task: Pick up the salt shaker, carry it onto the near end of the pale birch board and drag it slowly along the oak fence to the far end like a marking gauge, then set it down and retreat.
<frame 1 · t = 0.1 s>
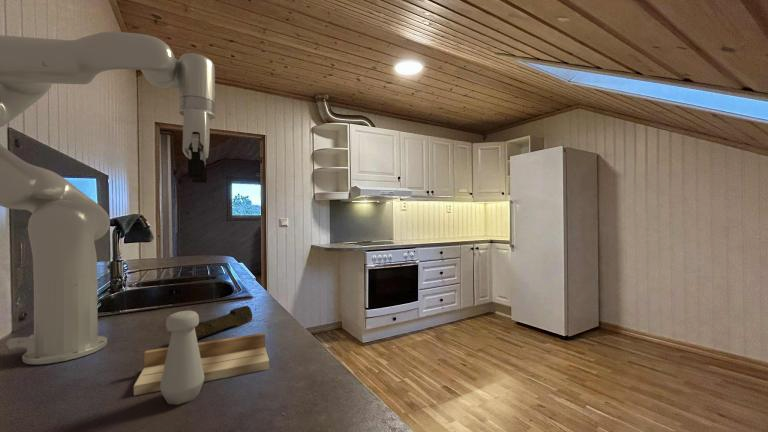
hand: (198, 180, 78), 37 cm above the countertop, tool pointing down, fingers open, 9 cm apart
salt shaker: (183, 398, 50), on the countertop
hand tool: (218, 332, 80), on the countertop
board: (208, 369, 60), on the countertop
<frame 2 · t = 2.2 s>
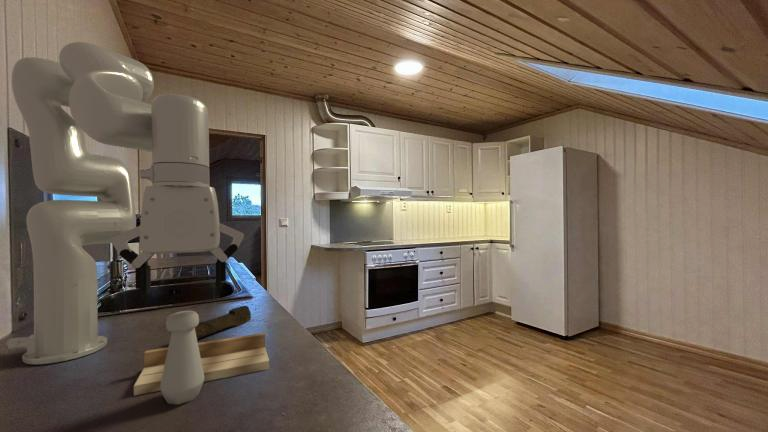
hand: (183, 289, 50), 17 cm above the countertop, tool pointing down, fingers open, 9 cm apart
nothing on the countertop moved.
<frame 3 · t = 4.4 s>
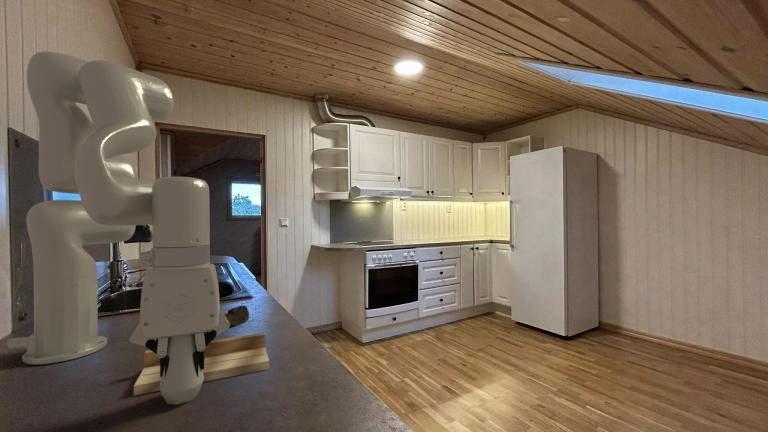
hand: (183, 376, 50), 3 cm above the countertop, tool pointing down, fingers closed on salt shaker, 3 cm apart
salt shaker: (182, 398, 50), on the countertop, touching gripper
everything else where it was.
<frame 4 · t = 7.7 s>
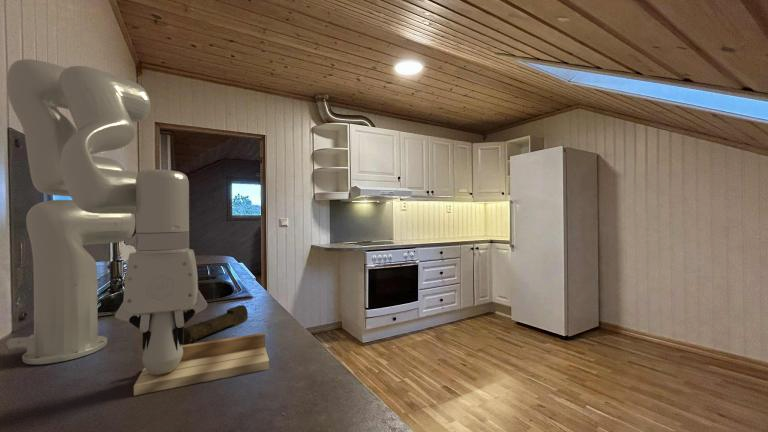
hand: (164, 350, 56), 5 cm above the countertop, tool pointing down, fingers closed on salt shaker, 3 cm apart
salt shaker: (163, 370, 55), point 2 cm above the countertop, touching gripper
everything else where it was.
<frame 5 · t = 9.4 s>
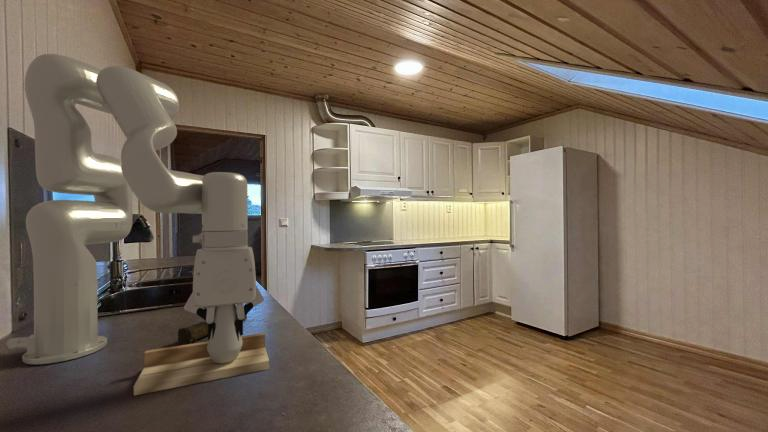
hand: (226, 340, 60), 5 cm above the countertop, tool pointing down, fingers closed on salt shaker, 3 cm apart
salt shaker: (225, 359, 59), point 2 cm above the countertop, touching gripper
everything else where it was.
when the fingers open (5 cm above the countertop, at t = 11.1 s): salt shaker stays where it is, resting on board.
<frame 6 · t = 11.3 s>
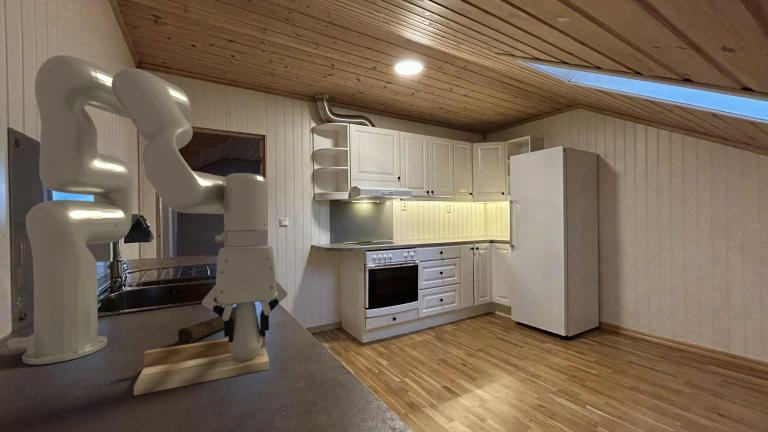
hand: (247, 336, 61), 5 cm above the countertop, tool pointing down, fingers open, 4 cm apart
salt shaker: (245, 358, 61), point 1 cm above the countertop, touching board
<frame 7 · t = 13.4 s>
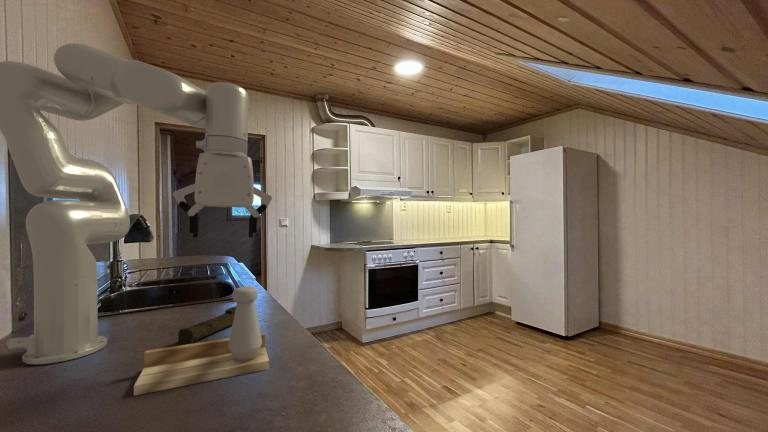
hand: (224, 237, 64), 24 cm above the countertop, tool pointing down, fingers open, 9 cm apart
nothing on the countertop moved.
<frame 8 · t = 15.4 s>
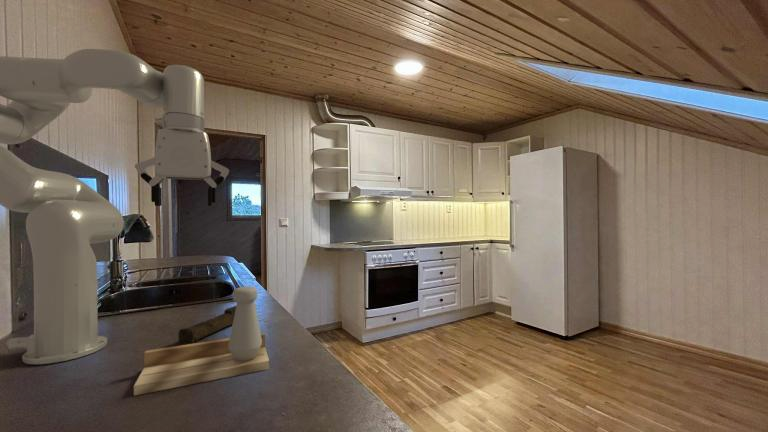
hand: (184, 205, 70), 30 cm above the countertop, tool pointing down, fingers open, 9 cm apart
at the end: salt shaker inside the target area (0.6 cm from its centre), point 1.3 cm above the countertop; salt shaker tilted 0°; the gripper is holding nothing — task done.
